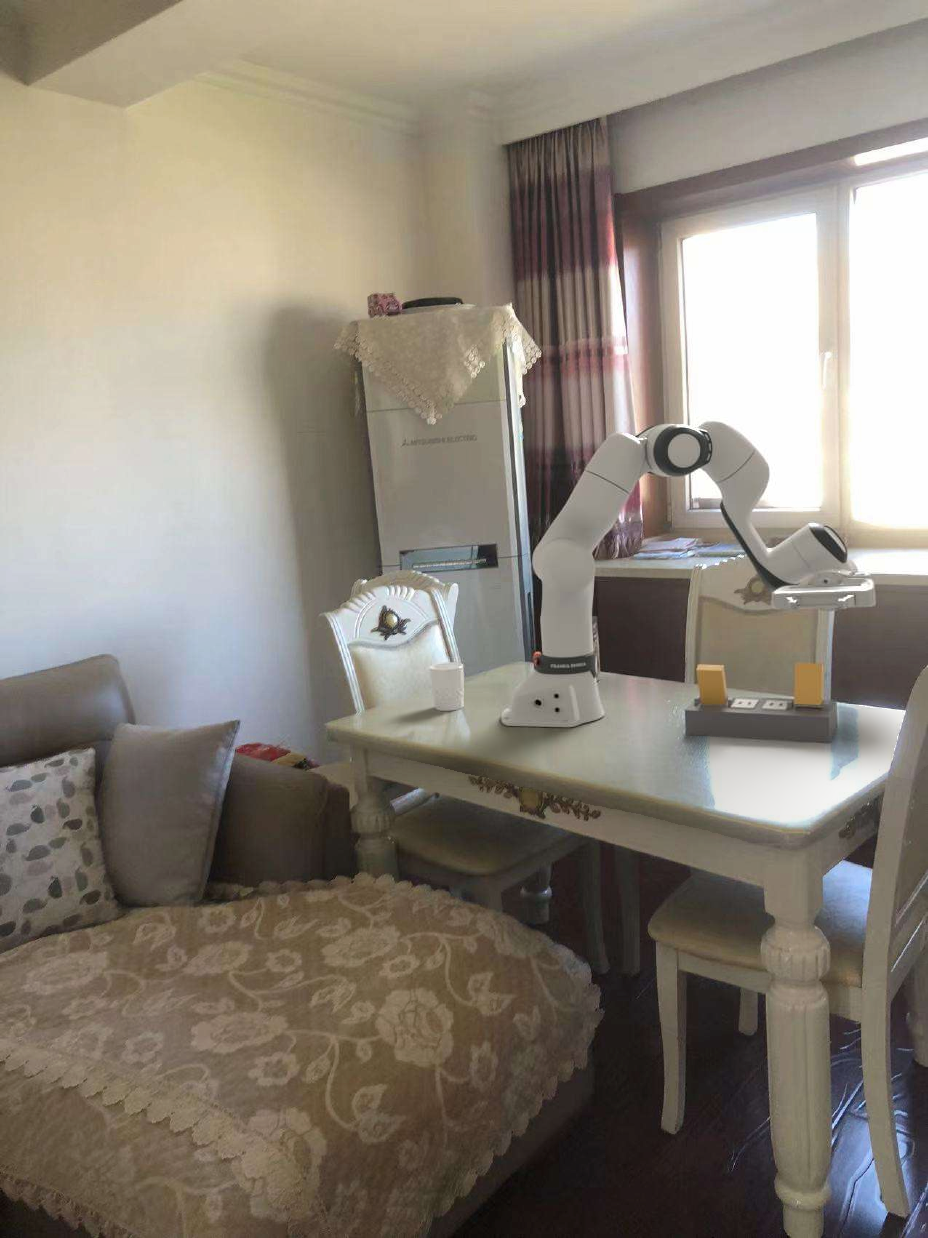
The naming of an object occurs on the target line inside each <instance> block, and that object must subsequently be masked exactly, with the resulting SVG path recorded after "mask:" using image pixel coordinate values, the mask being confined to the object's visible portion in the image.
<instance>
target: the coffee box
mask: <svg viewBox="0 0 928 1238" xmlns="http://www.w3.org/2000/svg"><path fill="white" fill-rule="evenodd" d="M592 631H593V650H594V651H595V652H596V657H597V676H596V681H598V680H599V679H600V680H601V664H600V663H601V662H600V661H601V660H600V644H599V630H598V616H597V615H592ZM600 680H599V681H600ZM599 681H598V682H599Z"/></svg>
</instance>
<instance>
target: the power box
mask: <svg viewBox="0 0 928 1238" xmlns="http://www.w3.org/2000/svg"><path fill="white" fill-rule="evenodd" d="M837 702H838V701H837V700H830V699H829V700H828V699H825V700H824V699H823V706H808V705H795V704H794V698H778V697H761V696H760V697H759V696H758V697H757V696H756V697H755V696H735V695H733V696H731V695H728V700H727V703H726V704H708V703H701V700H700V694H697V695H696V696H694V699H693V701H692V702H691V703H690V704H689V705H688V706H687V707H686V708H685V709H684V720H685V721H684V722H685V724H684V725H685V735H687V736H688V735H689V736H704V737H707V736H708V737H724V738H737V739H738V738H741V739H754V740H755V739H758V740H773V741H791V742H803V743H804V742H806V743H825V744H830V742H831V740H832V739H833V736H834V734H835V731H836V729H837V727H838V703H837Z"/></svg>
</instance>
